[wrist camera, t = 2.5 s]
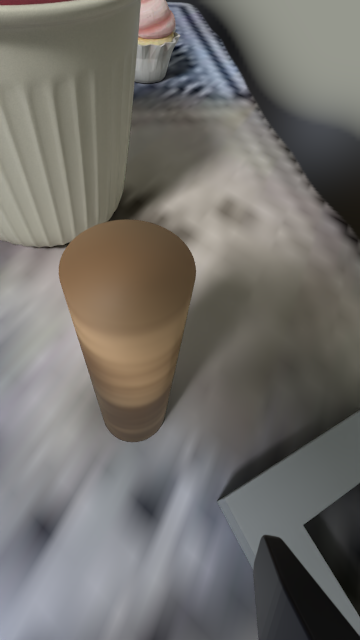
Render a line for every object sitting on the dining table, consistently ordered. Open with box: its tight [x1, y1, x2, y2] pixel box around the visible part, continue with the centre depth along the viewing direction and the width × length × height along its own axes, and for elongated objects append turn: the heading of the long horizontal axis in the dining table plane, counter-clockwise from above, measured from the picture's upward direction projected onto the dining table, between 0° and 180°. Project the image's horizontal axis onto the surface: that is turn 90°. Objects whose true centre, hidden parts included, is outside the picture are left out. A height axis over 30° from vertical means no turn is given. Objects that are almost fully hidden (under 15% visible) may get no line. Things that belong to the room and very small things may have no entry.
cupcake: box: [134, 0, 180, 83], centre depth 43 cm, size 9×9×10 cm
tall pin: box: [59, 220, 196, 442], centre depth 16 cm, size 4×4×14 cm
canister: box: [0, 0, 141, 248], centre depth 22 cm, size 18×18×21 cm
